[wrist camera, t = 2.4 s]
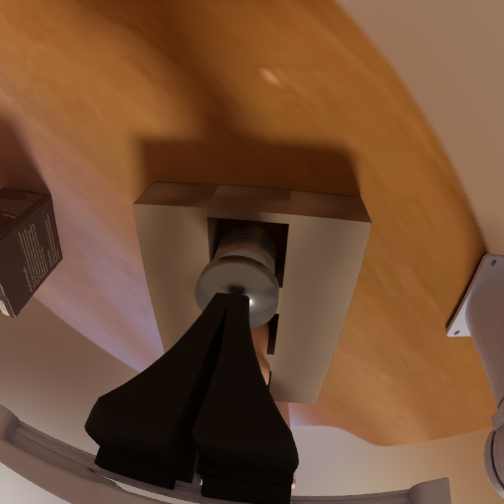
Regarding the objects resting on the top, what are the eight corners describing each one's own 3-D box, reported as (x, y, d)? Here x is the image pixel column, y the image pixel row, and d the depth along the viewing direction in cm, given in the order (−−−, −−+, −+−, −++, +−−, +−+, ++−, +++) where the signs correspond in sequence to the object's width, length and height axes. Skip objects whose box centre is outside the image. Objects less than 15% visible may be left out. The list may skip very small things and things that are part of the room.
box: (4, 185, 19) (-58, 231, 13) (53, 193, 19) (-14, 249, 13) (17, 245, 23) (-32, 296, 17) (64, 260, 23) (15, 321, 17)
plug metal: (285, 222, 16) (281, 271, 12) (279, 279, 18) (274, 332, 14) (213, 216, 16) (191, 262, 13) (215, 272, 18) (198, 324, 15)
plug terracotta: (276, 310, 19) (270, 362, 16) (271, 347, 21) (266, 396, 18) (217, 303, 19) (202, 354, 16) (219, 341, 21) (207, 389, 18)
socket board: (361, 197, 17) (371, 223, 14) (315, 375, 26) (315, 403, 24) (154, 182, 18) (132, 203, 15) (183, 360, 27) (174, 386, 25)
